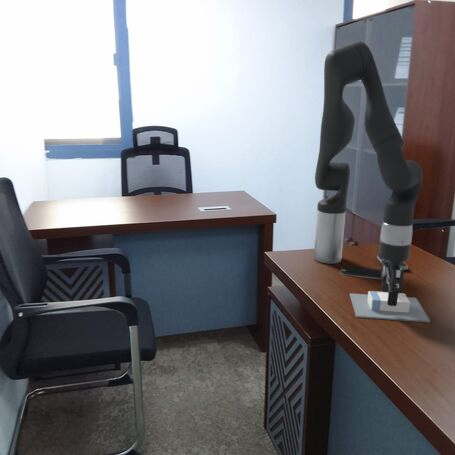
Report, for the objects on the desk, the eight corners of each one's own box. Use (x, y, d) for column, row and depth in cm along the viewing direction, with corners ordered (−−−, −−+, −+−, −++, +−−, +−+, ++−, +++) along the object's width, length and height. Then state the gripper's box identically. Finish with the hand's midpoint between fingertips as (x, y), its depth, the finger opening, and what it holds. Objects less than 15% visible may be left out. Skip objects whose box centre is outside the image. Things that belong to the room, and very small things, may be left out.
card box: (403, 303, 126) (404, 293, 125) (408, 312, 120) (410, 302, 120) (367, 300, 127) (368, 290, 126) (370, 309, 122) (371, 299, 121)
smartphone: (341, 265, 153) (389, 270, 149) (341, 267, 154) (389, 272, 150) (340, 273, 146) (390, 279, 142) (340, 276, 147) (390, 281, 143)
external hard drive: (386, 272, 150) (387, 266, 150) (376, 260, 161) (376, 255, 160) (407, 272, 150) (408, 266, 150) (396, 260, 161) (396, 255, 160)
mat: (349, 294, 132) (349, 293, 132) (415, 299, 129) (416, 297, 129) (356, 317, 118) (356, 315, 118) (430, 322, 116) (430, 321, 116)
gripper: (418, 249, 111) (409, 311, 116) (404, 232, 125) (397, 288, 129) (385, 247, 112) (378, 309, 117) (375, 231, 126) (369, 287, 130)
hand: (388, 298), depth 123 cm, fingers open, 8 cm apart
